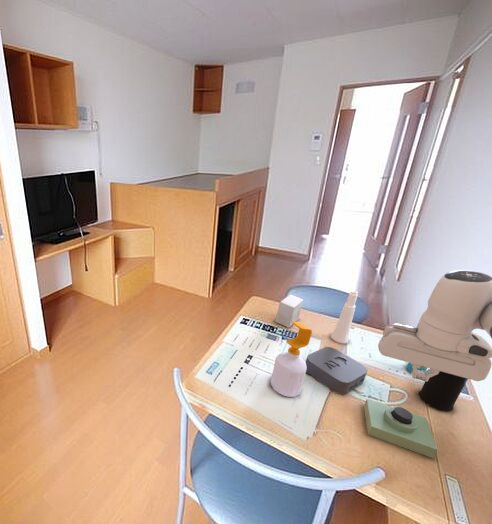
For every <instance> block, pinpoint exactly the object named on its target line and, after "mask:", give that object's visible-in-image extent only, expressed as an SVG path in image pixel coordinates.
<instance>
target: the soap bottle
mask: <svg viewBox="0 0 492 524" xmlns="http://www.w3.org/2000/svg"><path fill="white" fill-rule="evenodd" d="M292 323H293V324H292V325H294V327H295V326H296V327H297V328H298V331H297V332H298V333H297V335H296V337H293V338H288V339H286V341H285V342H286V344H287V345H289V347H288V349H287V351H285V352H281V353H279V354H278V355H277V356H276V357H275V359H274V360H275V361H274V365H273V369H272V373H271V378H270V385H271V387H272V389H273V390H274V391H275V392H276V393H278V394H280V395H282V396H283V397H288V398H295V397H297V396H299V395H300V393H301V391H302V388H303V385H304V381H305V377H306V373H307V372H306V369H307V366H306V361H305V360H304V359H303V358H302V357H301V356H300V353H301V350H300V349H302V348H305V347H307V346H308V345H309V343H310V341H311V337H312V333H313V331H312V329H310V328H309V327H308V326H306V325H305V324H304V323H302V322H300V321H296V322H292Z"/></svg>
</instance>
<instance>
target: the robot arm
mask: <svg viewBox="0 0 492 524" xmlns="http://www.w3.org/2000/svg"><path fill="white" fill-rule="evenodd" d="M474 330H481V331H485V332H486V333H487V335H488V336H489V337H490V338H491V339H492V276H491V275H489V274H486V273H484V272H478V271H475V270H468V269H459V270H452V271H449V272H446V273H444V274H443V275H442V276H441V278H439V280H438V282H437V283H436V284H435V286H434V288H433V290H432V291H431V293H430V296H429V297H428V300H427V307H426V309H425V310H424V312H423V313H422V314H421V316H420V317H419V320H418V323H417V325H416V327H412V326H409V325H402V324H400V323H393V324H392V323H391V324H387V325H385V327H384V329H383V332H382V334H383V335H382V336H381V338H380V340H379V342H378V343H377V347H378V351H379V353H380V354H381V356H383V357H388V358H391V359H395V360H398V361H399V360H400V361H402V362H406V363H408V362H409V363H411V364H412V367H413V371H412V372H411V377H412V378H413V379H416V380H420V381H422V382H425V381H426V382H428V380H429V378H430V377H432V376H435V375H437V374H439V372H440V371H442V372H445V373H449V374H453V375H456V376H460V377H464V378H467V379H468V380H470V381H474V382H481V381H484V380H486V379H487V377H488V375H489V373H490V372H491V369H492V360H491V358H492V346H491V344H490V343H488V340H486V339H485V338H484V337H482V336H481V335H480V334H477V333H475V332H473V331H474ZM420 366H424V367H427V370H426V371H425V372H423V371H420V370H417V368H420Z"/></svg>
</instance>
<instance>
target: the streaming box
mask: <svg viewBox="0 0 492 524" xmlns="http://www.w3.org/2000/svg"><path fill="white" fill-rule="evenodd" d="M305 363H306V366H307V369H306V373H307V374H309V375H310V376H311V377H313V379H316V380H317V381H318V382H320V383H322V384H323V385H324V386H325V387H327V388H328V389H330V390H331V391H333V392H334V393H336V394H339V395H346V394H348V393H350V392H352V391H353V390H355V389H357V388H358V387H360V386H361V385H363V384H364V382H365V379H366V376H367V373H368V368H367V367H366V366H365V365H363V364H362V363H360V362H359V361H357V360H355V359H354V358H352V357H350V356H349V355H346V354H345V353H343V352H341V351H340V350H338V349H337V348H334V347H331V346H324V347H322V348H320V349H318V350H316V351H314V352H311V353H309V354H308V355H307V356H306V361H305Z"/></svg>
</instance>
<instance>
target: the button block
mask: <svg viewBox="0 0 492 524" xmlns="http://www.w3.org/2000/svg"><path fill="white" fill-rule="evenodd" d="M395 407H396V406H391V405H388V404H385V403H382V402H379V401H375V400H373V399H369V398H366V399H365V402H364V404H363V409H364V411H363V412H364V417H365V423H366V429H367V435H368V436H371V437H374V438H376V439H379V440H382V441H384V442H387V443H390V444H393V445H396V446H398V447H401V448H404V449H407V450H409V451H413V452H415V453H417V454H420V455H422V456H425V457H428V458H431V459H434V458H435V457H436V454H437V453H438V451H439V449H438V446H437V444H436V441H435V438H434V436H433V433H432V430H431V427H430V424H429V421H428V420H427V417H425V416H422V415H419V414H417V413H412V412H410V413H411V414H412V416H413V418H412V420H411V422H410V424H403V423H400V422H399V421H397V420H396V419H394V417H393V416H392V413H393V410H394V408H395Z"/></svg>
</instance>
